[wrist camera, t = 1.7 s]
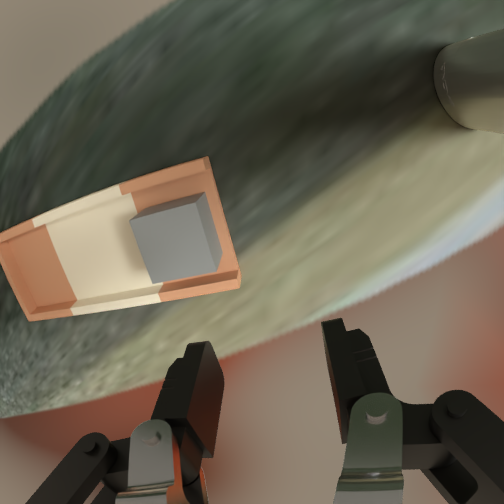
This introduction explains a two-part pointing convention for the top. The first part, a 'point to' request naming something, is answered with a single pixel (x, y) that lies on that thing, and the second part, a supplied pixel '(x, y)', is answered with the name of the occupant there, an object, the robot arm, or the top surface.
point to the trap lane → (108, 249)
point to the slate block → (177, 238)
